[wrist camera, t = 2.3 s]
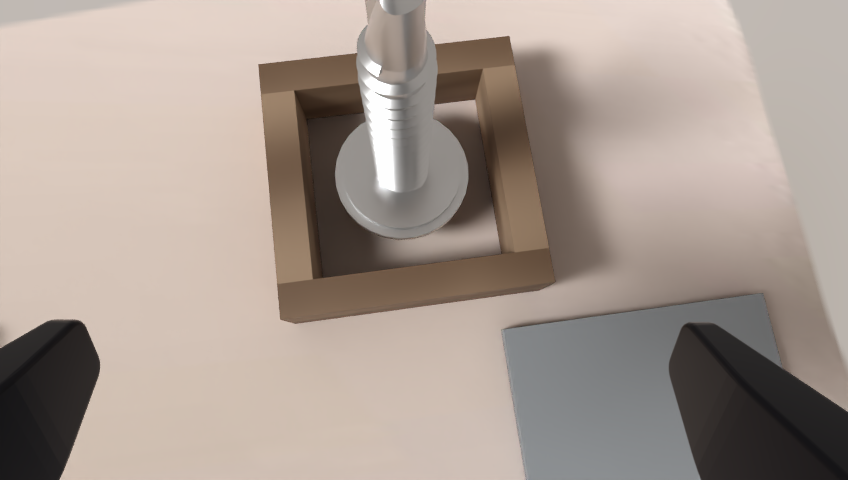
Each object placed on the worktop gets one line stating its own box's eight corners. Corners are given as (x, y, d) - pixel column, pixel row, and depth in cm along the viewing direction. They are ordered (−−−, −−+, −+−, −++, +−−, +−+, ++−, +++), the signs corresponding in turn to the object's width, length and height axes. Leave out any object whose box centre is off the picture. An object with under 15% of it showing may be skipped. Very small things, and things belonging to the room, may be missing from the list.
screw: (377, 113, 23) (483, 165, 22) (319, 214, 22) (429, 270, 21) (336, -193, 10) (578, -84, 10) (193, 18, 9) (456, 147, 9)
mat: (825, 574, 20) (838, 581, 19) (549, 620, 19) (553, 629, 18) (753, 294, 22) (762, 292, 21) (501, 330, 21) (503, 329, 20)
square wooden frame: (538, 290, 21) (555, 281, 19) (295, 323, 21) (280, 319, 18) (498, 69, 23) (509, 36, 21) (274, 95, 23) (258, 64, 20)
